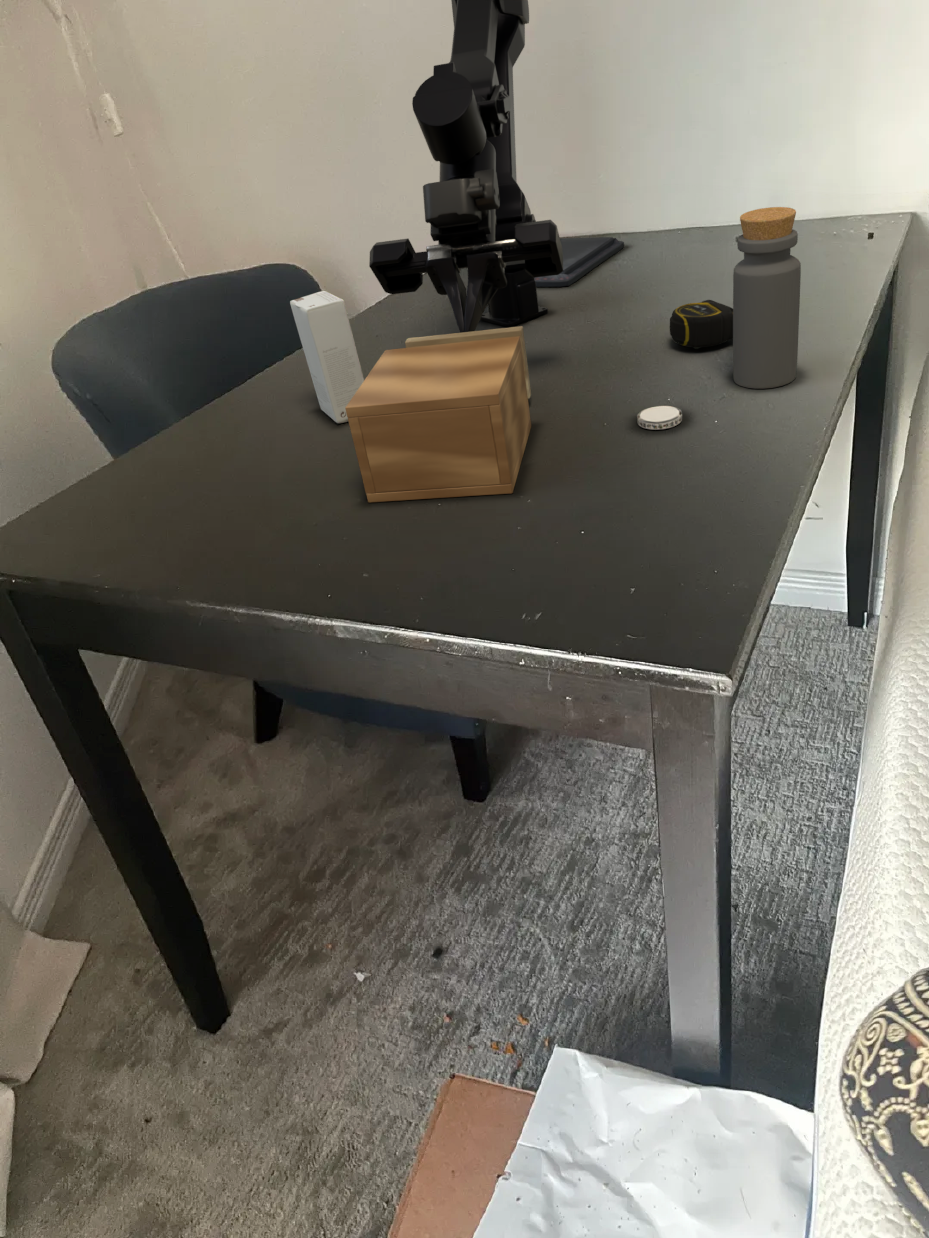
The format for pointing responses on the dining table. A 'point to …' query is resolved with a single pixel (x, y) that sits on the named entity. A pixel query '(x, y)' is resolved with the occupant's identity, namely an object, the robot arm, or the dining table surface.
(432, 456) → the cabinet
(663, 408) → the cream flat disc
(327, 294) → the cosmetic box
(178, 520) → the dining table surface
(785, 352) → the bottle
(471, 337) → the drawer
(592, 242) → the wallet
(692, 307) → the tape measure
